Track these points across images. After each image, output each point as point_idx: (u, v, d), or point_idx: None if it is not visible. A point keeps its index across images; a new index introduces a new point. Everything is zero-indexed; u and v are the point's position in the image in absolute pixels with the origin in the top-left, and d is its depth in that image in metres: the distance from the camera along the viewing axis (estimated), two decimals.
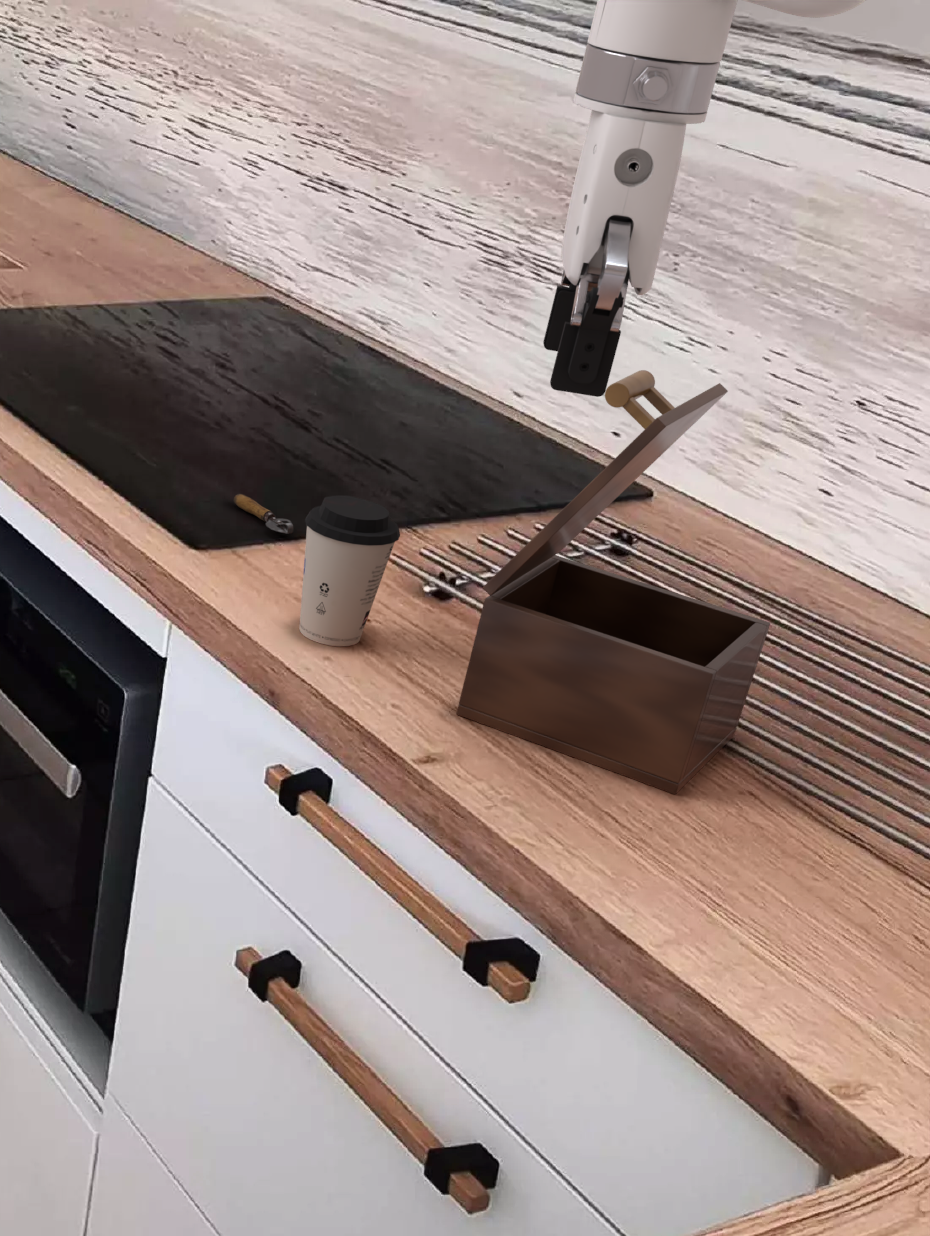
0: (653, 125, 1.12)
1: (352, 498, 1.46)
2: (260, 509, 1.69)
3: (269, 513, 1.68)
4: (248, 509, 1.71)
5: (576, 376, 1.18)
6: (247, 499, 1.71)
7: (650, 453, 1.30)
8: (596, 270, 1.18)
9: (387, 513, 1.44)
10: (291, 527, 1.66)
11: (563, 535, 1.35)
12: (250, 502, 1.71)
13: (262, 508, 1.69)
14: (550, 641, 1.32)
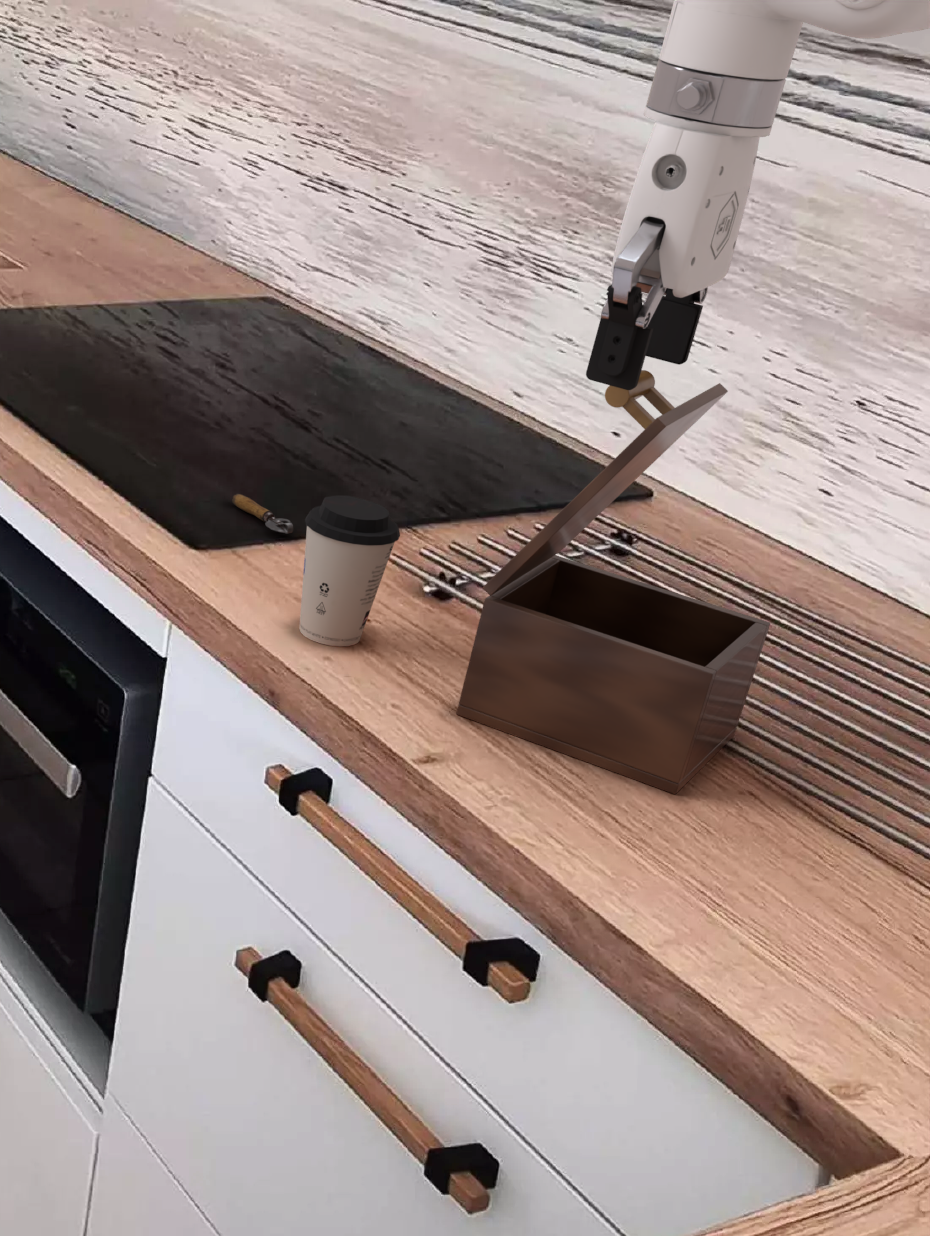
0: (690, 133, 1.19)
1: (352, 498, 1.46)
2: (259, 509, 1.69)
3: (268, 513, 1.68)
4: (247, 509, 1.71)
5: (604, 367, 1.25)
6: (246, 499, 1.71)
7: (650, 453, 1.30)
8: (643, 271, 1.24)
9: (387, 513, 1.44)
10: (291, 527, 1.66)
11: (563, 535, 1.35)
12: (249, 502, 1.71)
13: (261, 508, 1.69)
14: (550, 641, 1.32)
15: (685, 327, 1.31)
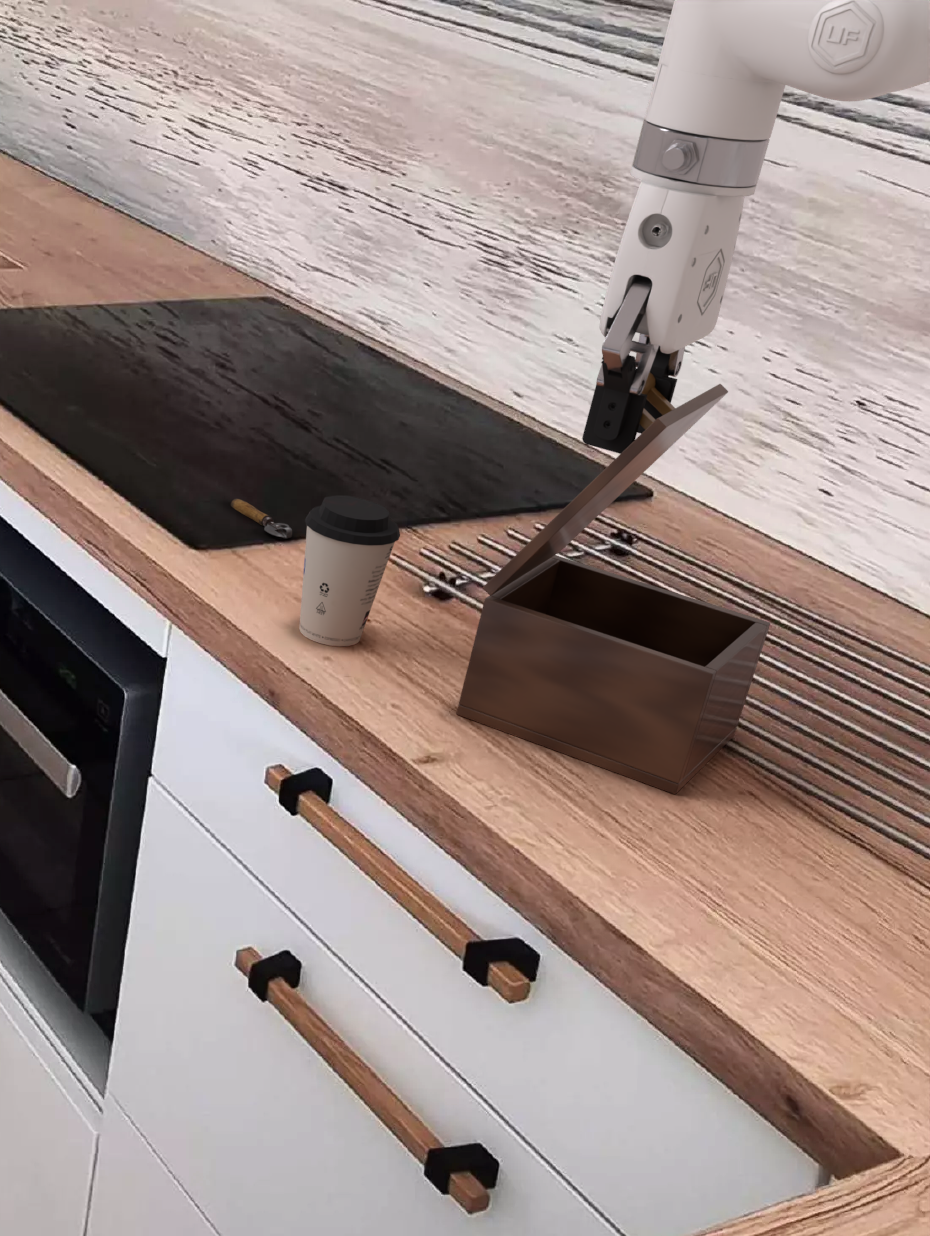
0: (675, 193, 1.20)
1: (353, 498, 1.46)
2: (258, 514, 1.69)
3: (267, 517, 1.69)
4: (246, 514, 1.71)
5: (600, 432, 1.28)
6: (244, 504, 1.71)
7: (650, 453, 1.30)
8: None
9: (387, 513, 1.44)
10: (290, 532, 1.66)
11: (563, 535, 1.35)
12: (248, 507, 1.71)
13: (260, 513, 1.69)
14: (550, 641, 1.32)
15: None
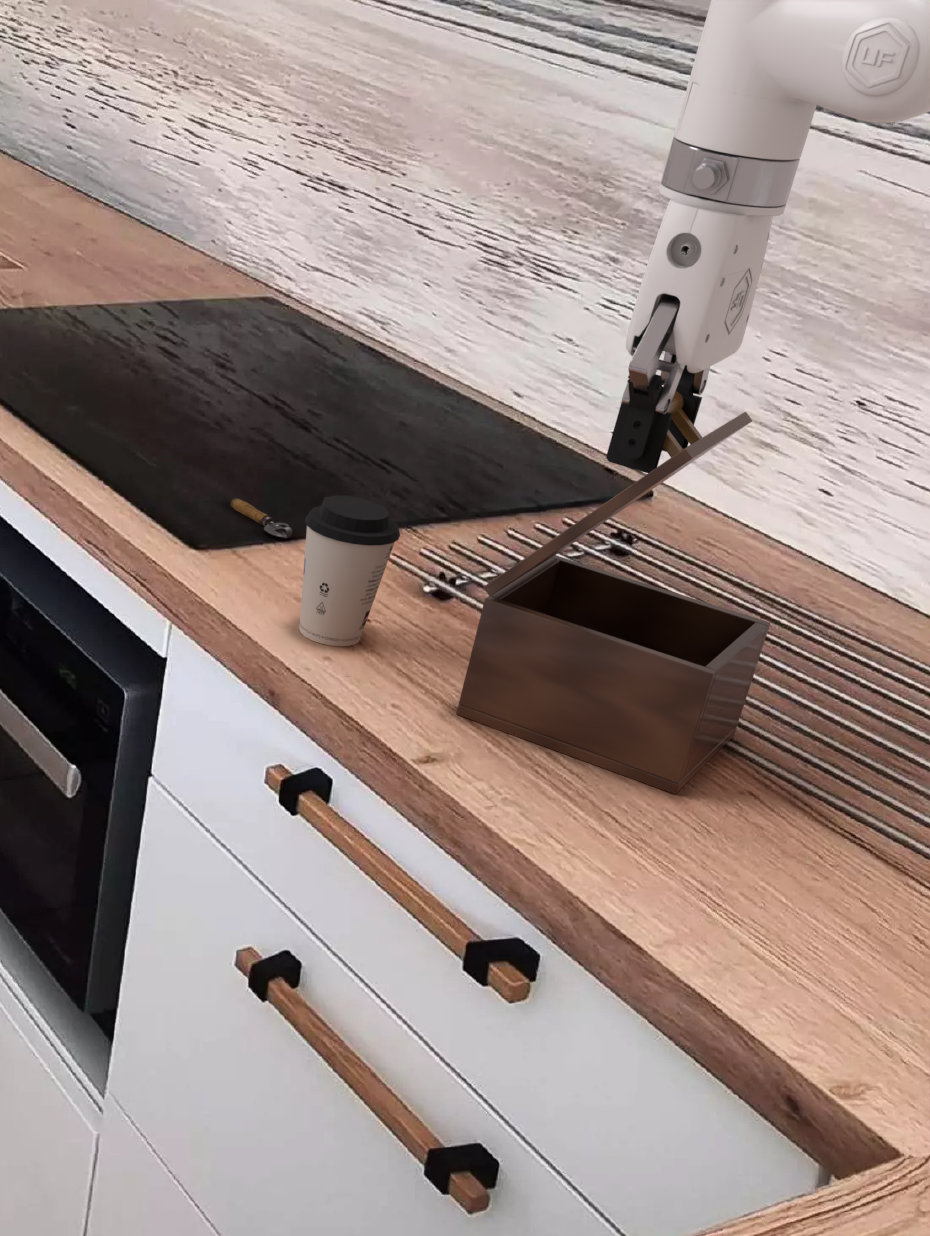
0: (705, 213, 1.20)
1: (352, 498, 1.46)
2: (257, 513, 1.69)
3: (267, 517, 1.69)
4: (245, 514, 1.71)
5: (625, 451, 1.28)
6: (244, 503, 1.71)
7: None
8: None
9: (387, 513, 1.44)
10: (290, 531, 1.66)
11: (569, 543, 1.35)
12: (247, 506, 1.71)
13: (259, 512, 1.69)
14: (550, 641, 1.32)
15: None
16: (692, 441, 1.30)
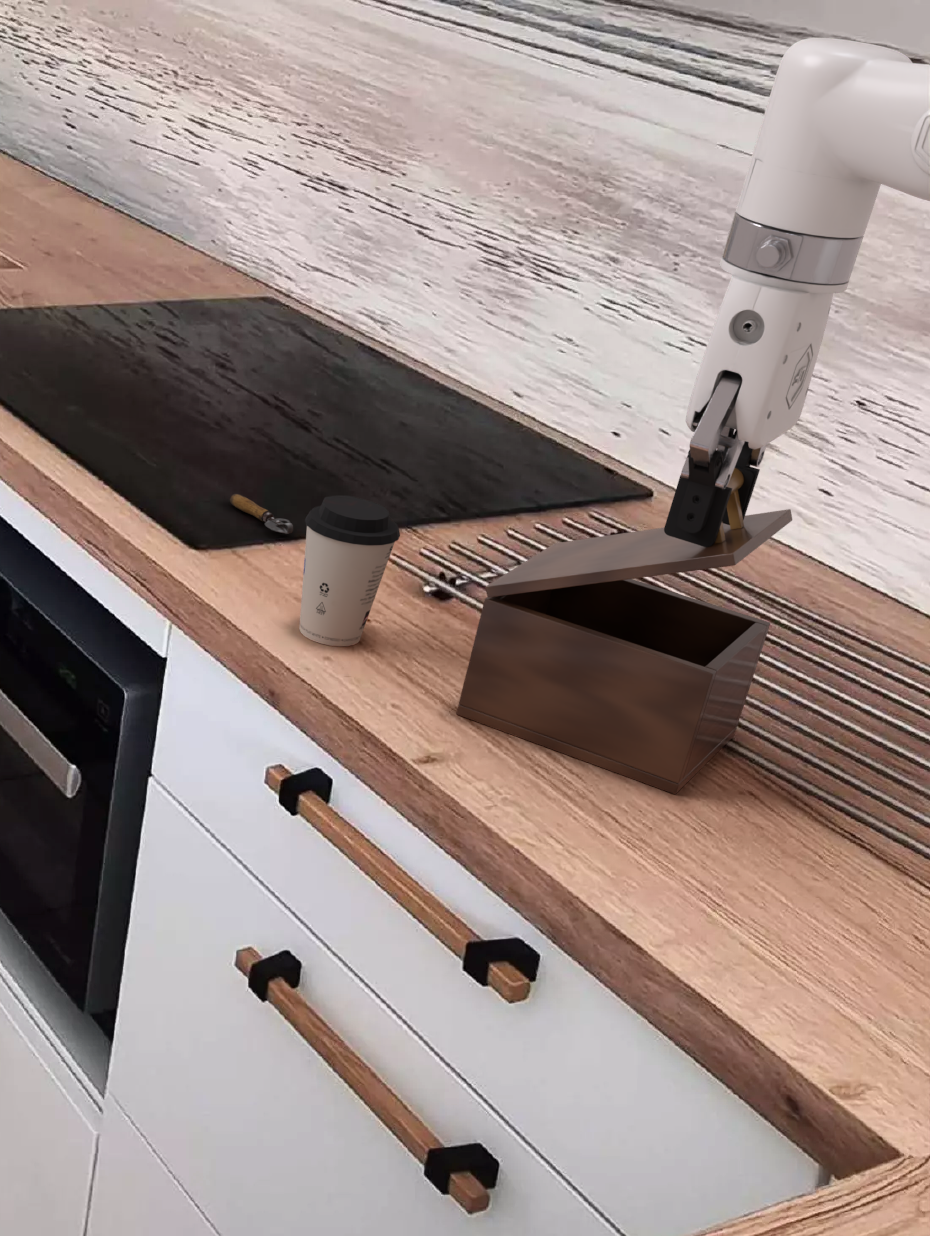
0: (768, 290, 1.19)
1: (352, 498, 1.46)
2: (258, 509, 1.69)
3: (267, 513, 1.68)
4: (245, 509, 1.70)
5: (683, 525, 1.27)
6: (244, 499, 1.71)
7: None
8: None
9: (387, 513, 1.44)
10: (291, 527, 1.66)
11: None
12: (247, 502, 1.70)
13: (260, 508, 1.69)
14: (550, 641, 1.32)
15: (741, 490, 1.30)
16: (733, 525, 1.31)
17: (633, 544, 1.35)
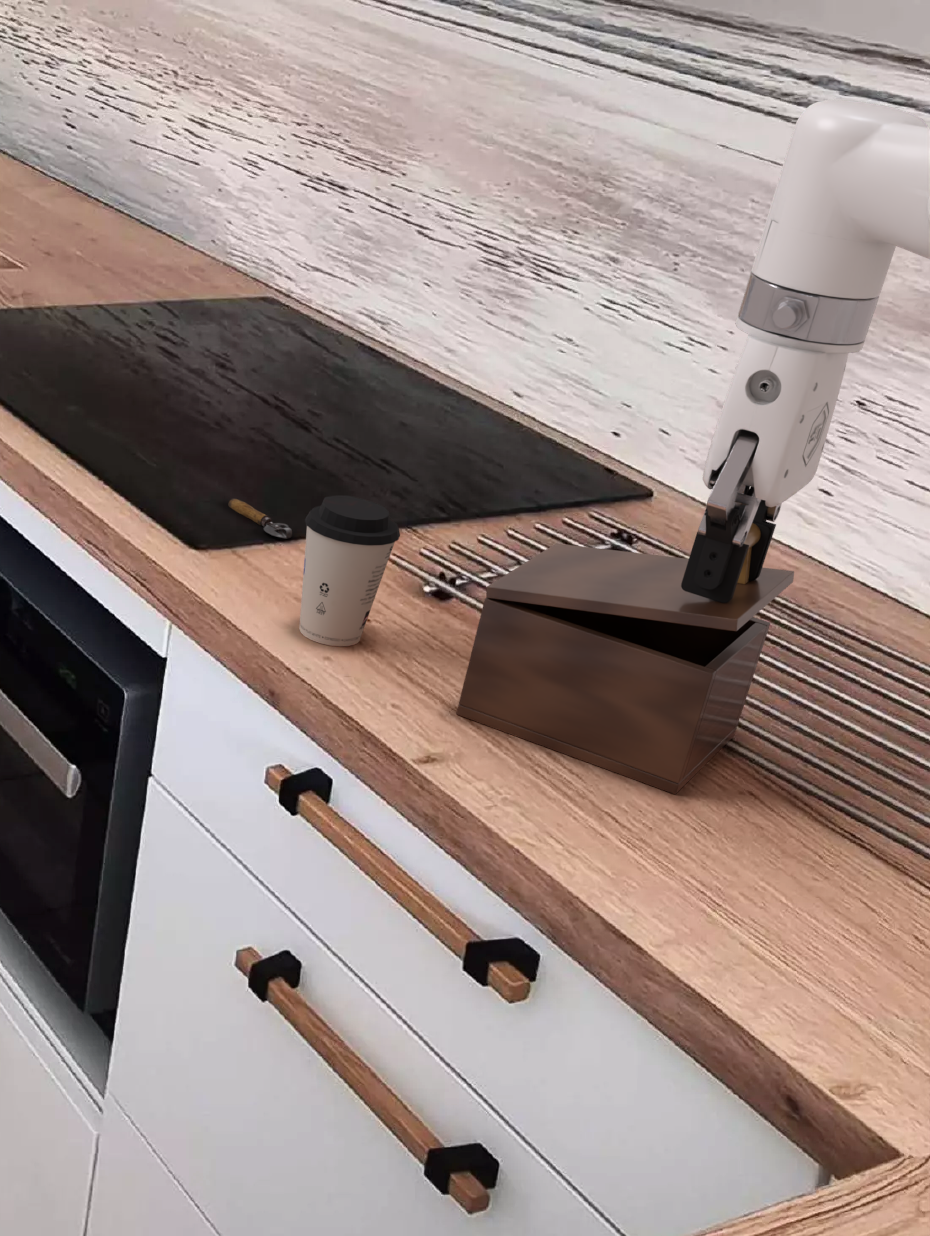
0: (785, 351, 1.19)
1: (352, 498, 1.46)
2: (256, 514, 1.69)
3: (266, 517, 1.69)
4: (244, 514, 1.71)
5: (700, 581, 1.27)
6: (242, 504, 1.71)
7: None
8: None
9: (387, 513, 1.44)
10: (290, 532, 1.66)
11: None
12: (246, 507, 1.71)
13: (258, 513, 1.69)
14: (550, 641, 1.32)
15: (758, 545, 1.31)
16: (738, 580, 1.31)
17: (636, 572, 1.35)
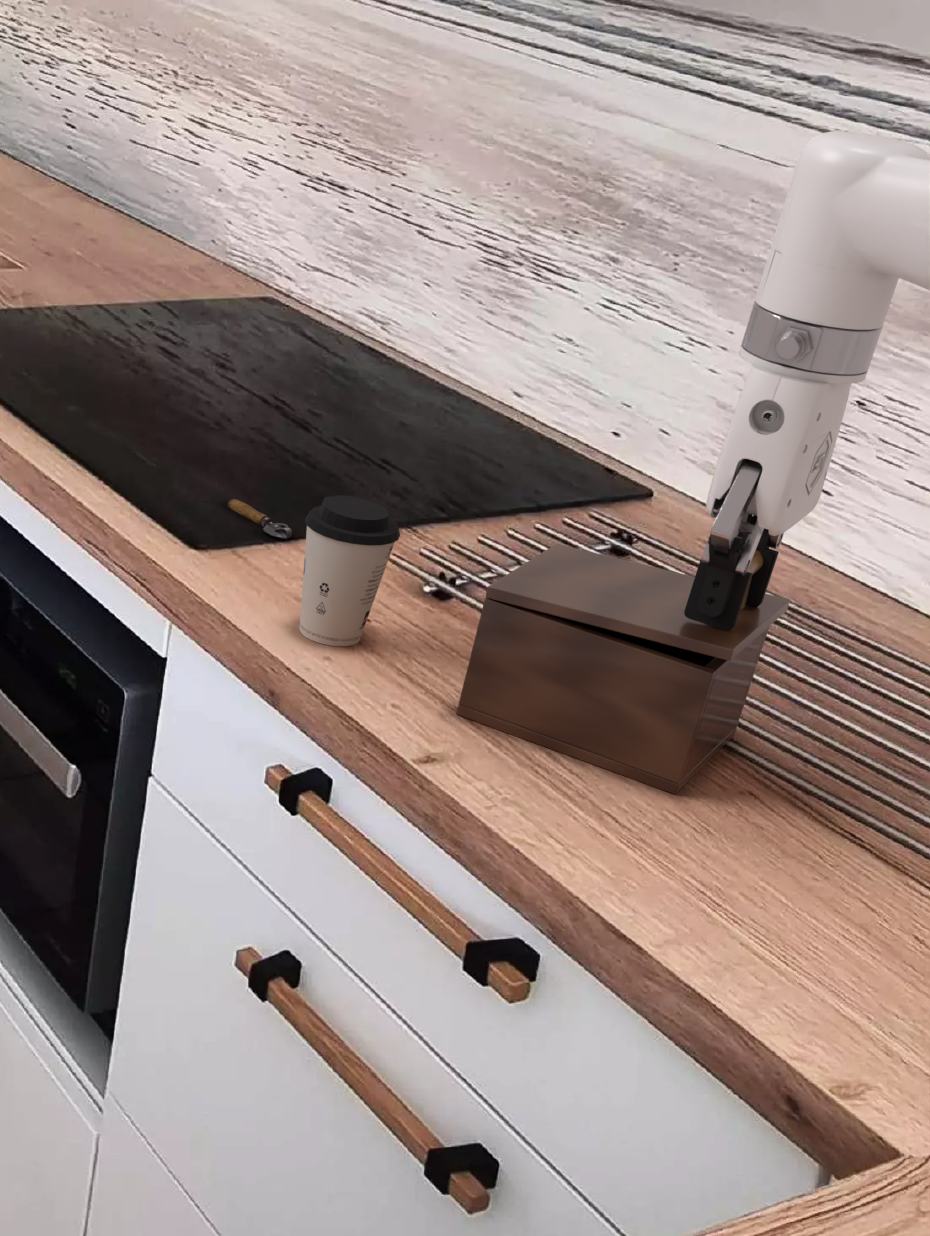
0: (788, 381, 1.20)
1: (352, 498, 1.46)
2: (256, 514, 1.69)
3: (265, 518, 1.69)
4: (243, 514, 1.71)
5: (703, 609, 1.28)
6: (242, 504, 1.71)
7: None
8: None
9: (387, 513, 1.44)
10: (290, 532, 1.66)
11: None
12: (245, 507, 1.71)
13: (258, 513, 1.69)
14: (550, 641, 1.32)
15: (761, 572, 1.31)
16: None
17: (635, 585, 1.35)
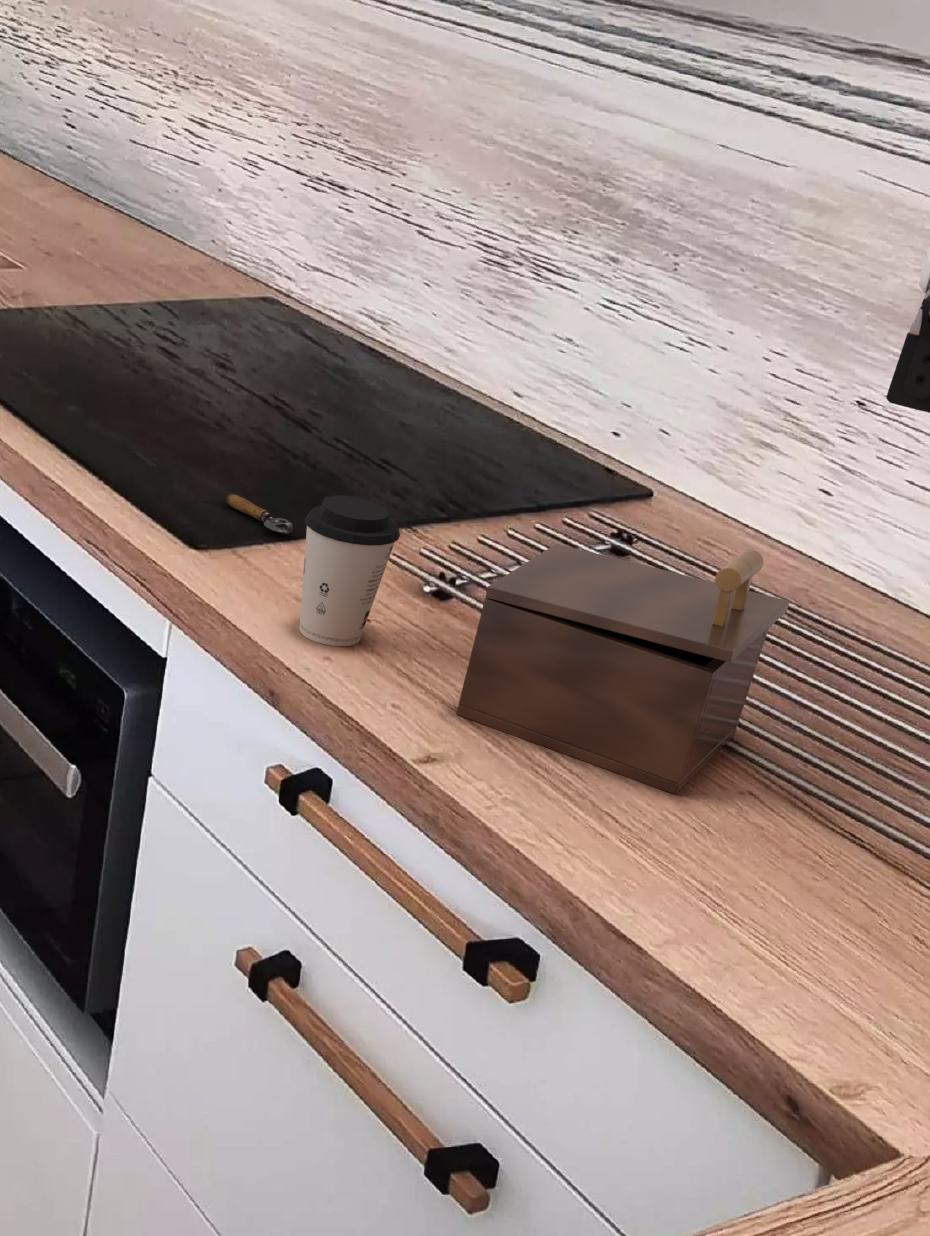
0: None
1: (352, 498, 1.46)
2: (256, 509, 1.69)
3: (266, 512, 1.68)
4: (243, 509, 1.70)
5: (911, 389, 1.12)
6: (241, 499, 1.71)
7: None
8: None
9: (387, 513, 1.44)
10: (291, 527, 1.66)
11: None
12: (244, 502, 1.70)
13: (258, 508, 1.69)
14: (550, 641, 1.32)
15: None
16: (735, 606, 1.32)
17: (635, 585, 1.36)
